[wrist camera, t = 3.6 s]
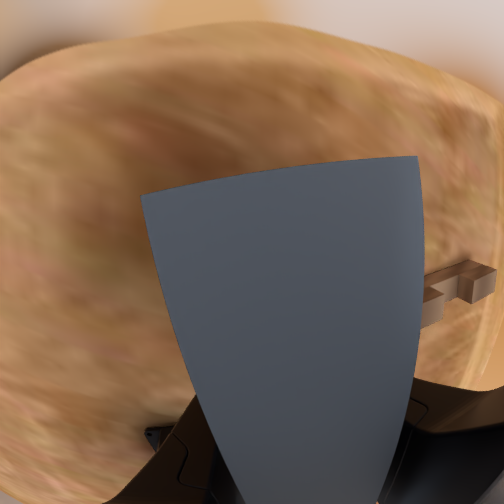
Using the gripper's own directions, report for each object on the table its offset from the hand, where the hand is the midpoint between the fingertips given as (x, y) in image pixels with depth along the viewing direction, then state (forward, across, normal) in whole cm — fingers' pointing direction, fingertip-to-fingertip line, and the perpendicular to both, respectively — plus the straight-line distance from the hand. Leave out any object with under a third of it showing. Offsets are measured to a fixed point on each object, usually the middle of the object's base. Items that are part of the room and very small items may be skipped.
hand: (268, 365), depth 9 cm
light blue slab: (+1, 0, +2) cm, 2 cm away
